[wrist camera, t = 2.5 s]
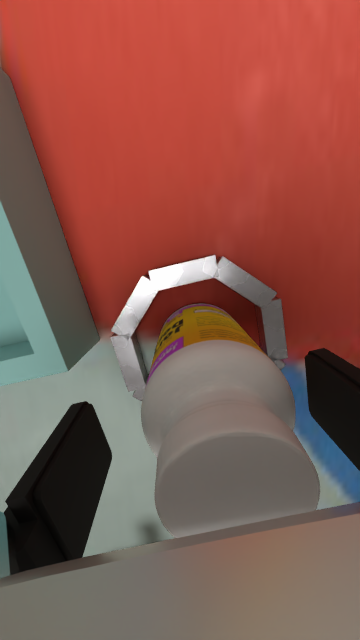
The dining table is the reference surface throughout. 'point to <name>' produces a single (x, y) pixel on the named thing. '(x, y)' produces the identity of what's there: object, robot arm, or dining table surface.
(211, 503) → the supplement bottle
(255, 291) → the collar
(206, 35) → the dining table surface
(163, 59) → the dining table surface
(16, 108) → the bin
